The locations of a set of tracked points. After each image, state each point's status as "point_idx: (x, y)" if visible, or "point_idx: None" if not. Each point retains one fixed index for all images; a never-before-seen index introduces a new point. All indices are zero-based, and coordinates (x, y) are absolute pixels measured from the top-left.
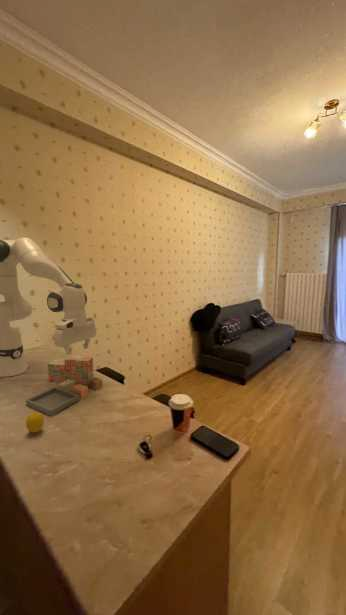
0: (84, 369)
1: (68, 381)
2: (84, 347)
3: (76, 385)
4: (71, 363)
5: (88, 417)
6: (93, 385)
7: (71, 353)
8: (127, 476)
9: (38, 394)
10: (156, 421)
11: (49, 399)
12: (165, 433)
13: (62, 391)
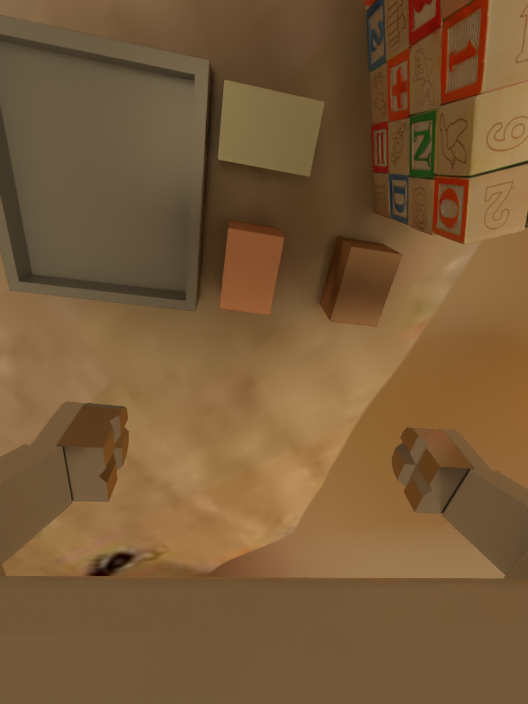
0: (421, 200)
1: (288, 133)
2: (410, 452)
3: (259, 240)
4: (460, 27)
5: None
6: (330, 293)
7: (124, 455)
8: (27, 572)
9: (57, 28)
10: (216, 545)
11: (109, 137)
12: (183, 570)
13: (191, 174)
